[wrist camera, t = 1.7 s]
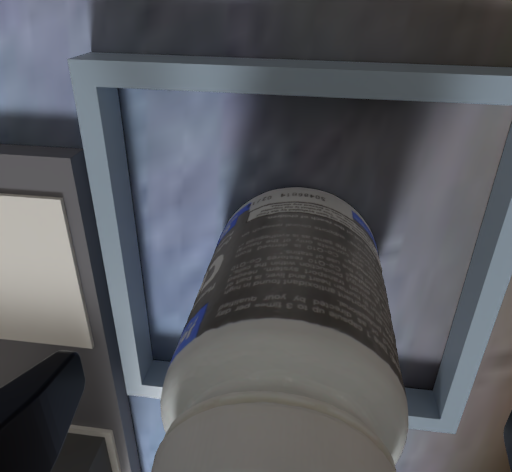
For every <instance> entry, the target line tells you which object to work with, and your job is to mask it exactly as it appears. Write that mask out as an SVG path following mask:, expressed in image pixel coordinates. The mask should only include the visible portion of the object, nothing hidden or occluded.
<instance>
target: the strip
mask: <svg viewBox="0 0 512 472" xmlns="http://www.w3.org/2000/svg"><path fill="white" fill-rule="evenodd" d="M59 350H65V351H74V352H77V353H78V354H79V355H80V358H81V362H82V366H83V371H84V375H85V388H84V391H83V394H82V396H81V399H80V401H79V404H78V407H77V409H76V412H75V415H74V417H73V420H72V422H71V425H70V428H69V430H68V433H75V434H83V435H90V436H98V437H105V441H106V446H107V450H108V454H109V459H110V463H111V467H112V472H141V468H140V463H139V457H138V452H137V446H136V440H135V435H134V429H133V423H132V418H131V412H130V407H129V401H128V395H127V391H126V385H125V380H124V374H123V368H122V363H121V357H120V352H119V346H118V340H117V335H116V329H115V323H114V318H113V312H112V307H111V301H110V295H109V290H108V284H107V279H106V273H105V267H104V262H103V256H102V251H101V245H100V239H99V234H98V228H97V222H96V217H95V211H94V206H93V200H92V194H91V189H90V183H89V178H88V172H87V166H86V161H85V155H84V150H83V149H77V148H60V147H44V146H27V145H10V144H0V388H1V387H2V386H4V385H6V384H7V383H9V382H10V381H12V380H13V379H15V378H16V377H18V376H19V375H21V374H23V373H24V372H26V371H27V370H29V369H30V368H32V367H33V366H35V365H36V364H38V363H40V362H41V361H43V360H44V359H46V358H47V357H49V356H50V355H52V354H53V353H55V352H57V351H59Z"/></svg>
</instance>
